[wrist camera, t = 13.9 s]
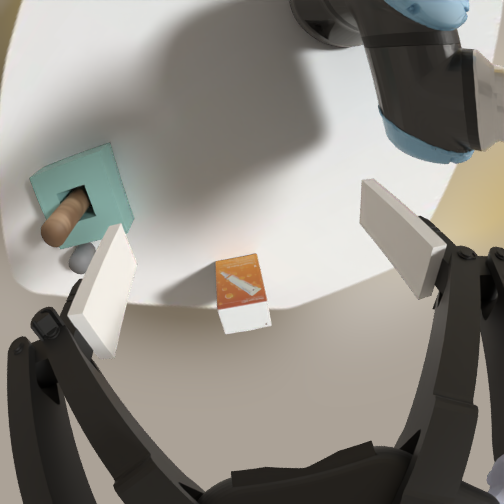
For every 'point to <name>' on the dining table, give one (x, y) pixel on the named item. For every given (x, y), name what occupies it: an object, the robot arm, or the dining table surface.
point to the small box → (241, 294)
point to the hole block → (97, 186)
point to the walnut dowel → (65, 217)
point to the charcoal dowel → (81, 258)
